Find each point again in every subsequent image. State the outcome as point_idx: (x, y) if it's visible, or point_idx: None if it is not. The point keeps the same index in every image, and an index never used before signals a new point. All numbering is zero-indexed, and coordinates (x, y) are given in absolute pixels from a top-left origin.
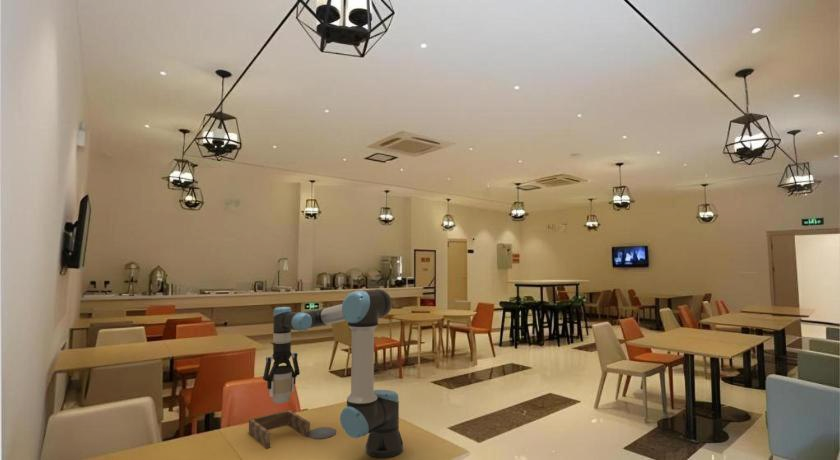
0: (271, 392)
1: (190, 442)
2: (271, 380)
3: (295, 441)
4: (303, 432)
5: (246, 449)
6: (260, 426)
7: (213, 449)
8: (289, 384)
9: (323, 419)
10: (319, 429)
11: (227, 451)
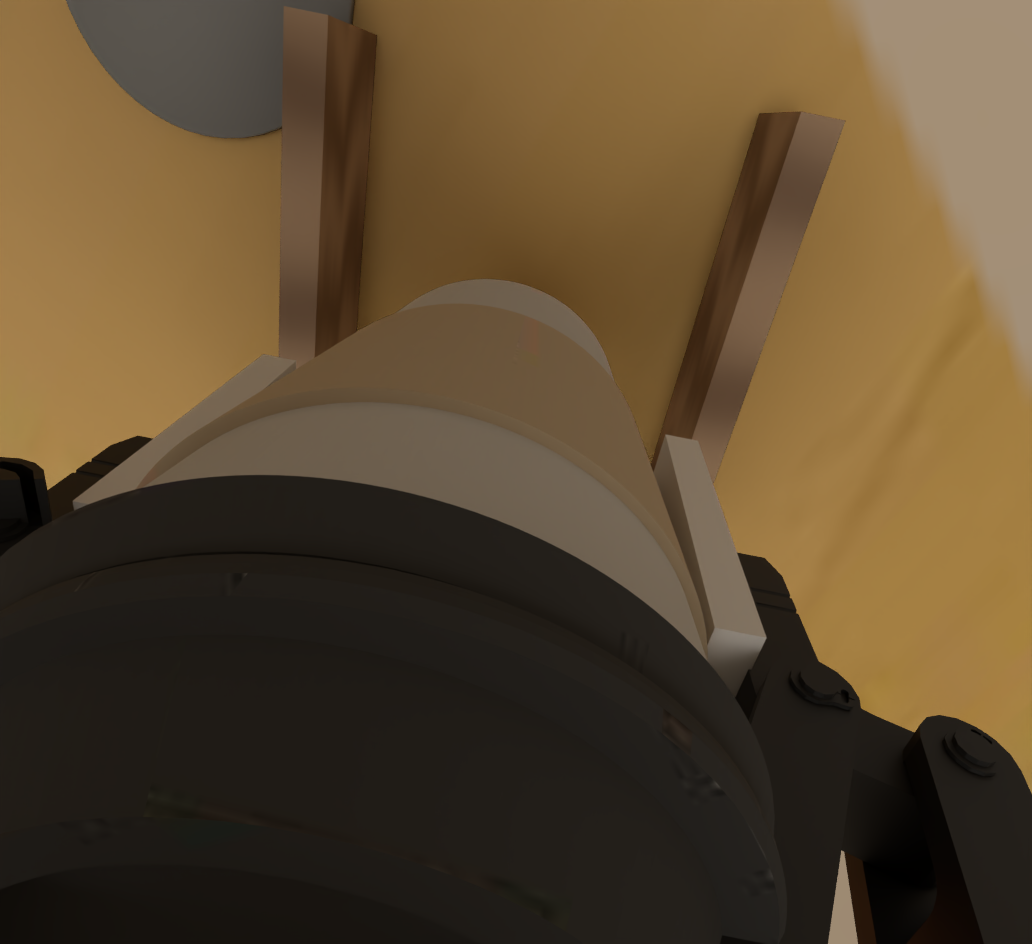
0: (707, 493)
1: (979, 707)
2: (779, 675)
3: (512, 36)
4: (363, 117)
5: (895, 272)
6: (727, 384)
7: (1012, 491)
8: (330, 352)
9: (47, 310)
10: (189, 74)
11: (999, 369)
